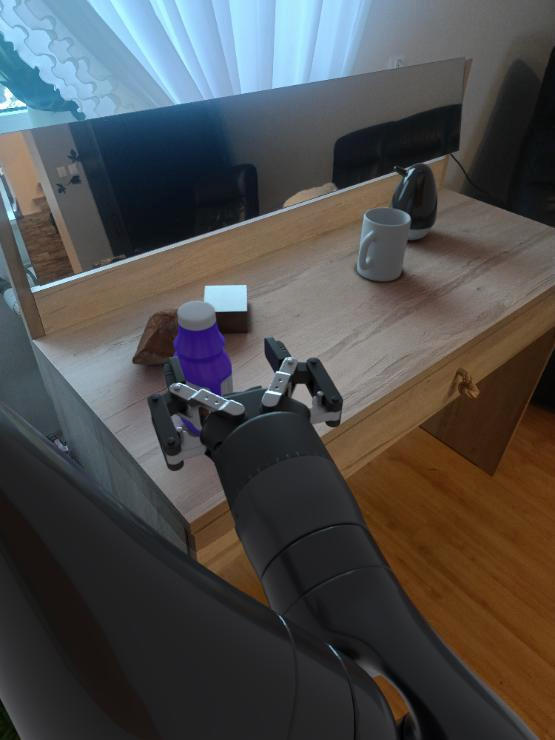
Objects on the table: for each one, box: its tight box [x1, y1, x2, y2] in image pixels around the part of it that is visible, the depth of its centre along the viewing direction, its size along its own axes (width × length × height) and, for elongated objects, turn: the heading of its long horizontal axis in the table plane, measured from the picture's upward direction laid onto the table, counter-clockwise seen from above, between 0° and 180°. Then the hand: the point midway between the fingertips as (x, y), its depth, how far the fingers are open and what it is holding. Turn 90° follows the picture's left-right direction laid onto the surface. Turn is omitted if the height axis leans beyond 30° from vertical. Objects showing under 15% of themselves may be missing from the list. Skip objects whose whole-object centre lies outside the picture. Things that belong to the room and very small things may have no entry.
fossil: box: [131, 308, 179, 366], centre depth 73 cm, size 13×8×10 cm
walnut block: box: [203, 284, 249, 333], centre depth 81 cm, size 7×8×4 cm
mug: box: [356, 207, 411, 282], centre depth 91 cm, size 12×8×11 cm
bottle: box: [173, 300, 234, 436], centre depth 59 cm, size 7×6×17 cm
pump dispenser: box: [388, 162, 438, 241], centre depth 104 cm, size 10×10×15 cm
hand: (221, 354), depth 43 cm, fingers open, 8 cm apart
